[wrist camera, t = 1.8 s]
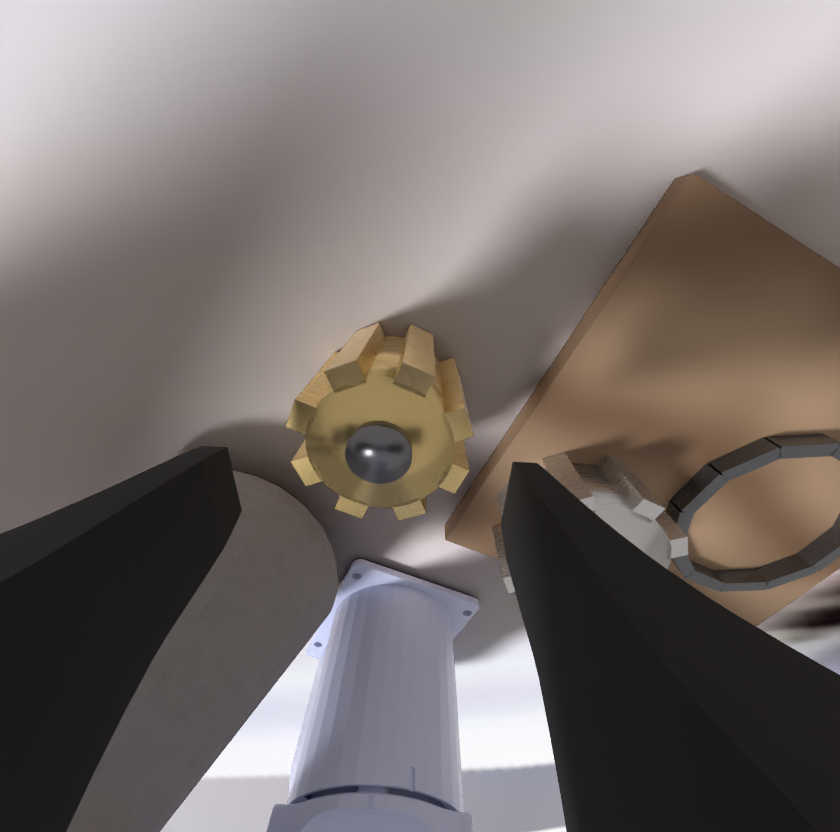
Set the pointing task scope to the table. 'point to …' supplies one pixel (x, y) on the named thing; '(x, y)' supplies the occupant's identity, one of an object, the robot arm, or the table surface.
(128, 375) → the table surface
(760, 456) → the ring
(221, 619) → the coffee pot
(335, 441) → the planet gear
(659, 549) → the sun gear
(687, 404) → the carrier plate
